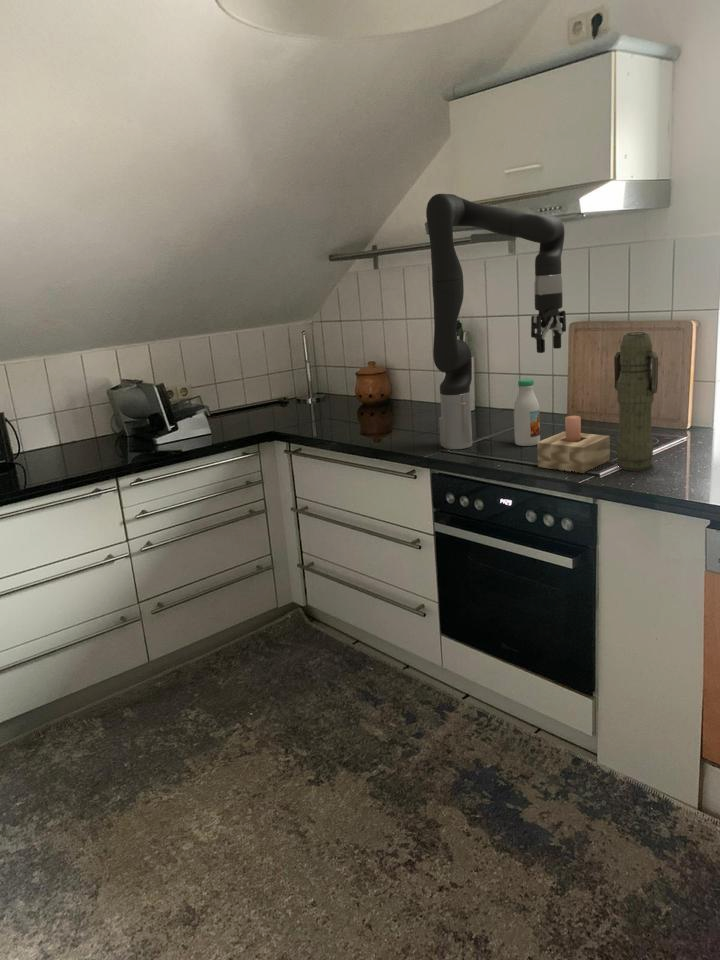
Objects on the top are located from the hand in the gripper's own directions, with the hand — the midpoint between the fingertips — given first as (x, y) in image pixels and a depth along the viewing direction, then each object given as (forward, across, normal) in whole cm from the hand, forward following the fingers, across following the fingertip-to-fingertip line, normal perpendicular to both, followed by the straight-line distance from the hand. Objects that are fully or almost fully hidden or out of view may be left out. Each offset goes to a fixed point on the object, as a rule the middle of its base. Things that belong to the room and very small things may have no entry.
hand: (549, 350), depth 211 cm
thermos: (+30, +3, +27) cm, 41 cm away
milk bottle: (+30, -6, -12) cm, 33 cm away
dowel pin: (+28, +8, +12) cm, 31 cm away
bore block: (+30, +8, +12) cm, 33 cm away
